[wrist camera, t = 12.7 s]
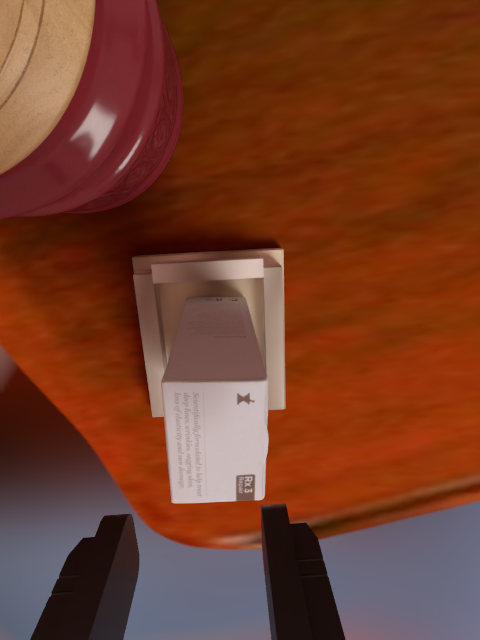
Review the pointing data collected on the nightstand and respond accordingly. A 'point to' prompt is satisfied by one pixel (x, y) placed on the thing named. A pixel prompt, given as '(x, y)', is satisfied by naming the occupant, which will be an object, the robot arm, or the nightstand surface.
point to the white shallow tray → (211, 281)
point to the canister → (84, 104)
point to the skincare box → (216, 404)
